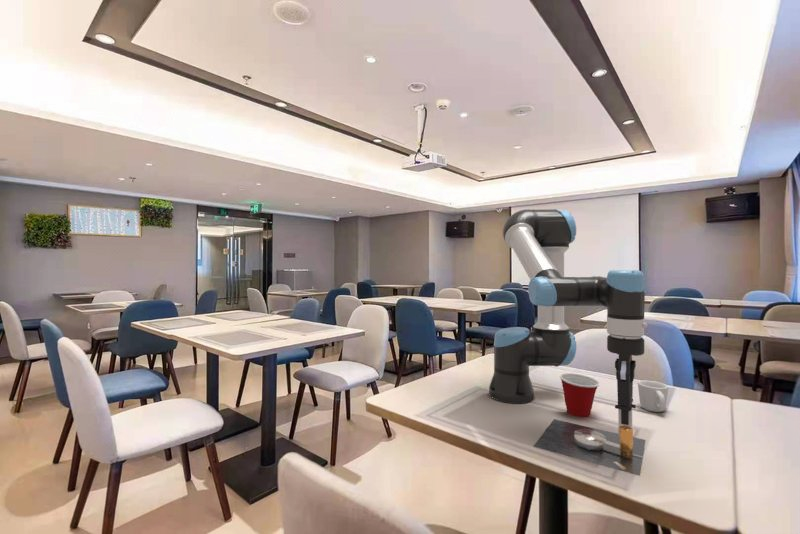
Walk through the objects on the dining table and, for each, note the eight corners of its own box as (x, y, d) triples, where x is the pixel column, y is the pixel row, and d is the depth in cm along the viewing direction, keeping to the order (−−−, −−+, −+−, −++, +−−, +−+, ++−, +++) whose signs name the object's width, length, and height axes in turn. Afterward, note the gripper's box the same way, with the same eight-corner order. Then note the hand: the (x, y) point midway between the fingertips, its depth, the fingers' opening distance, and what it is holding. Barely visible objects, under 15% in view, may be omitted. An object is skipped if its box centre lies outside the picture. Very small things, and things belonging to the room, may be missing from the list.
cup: (677, 418, 113) (677, 391, 113) (647, 416, 115) (648, 390, 114) (660, 405, 124) (660, 381, 123) (633, 403, 125) (633, 379, 125)
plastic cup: (592, 429, 106) (592, 386, 105) (553, 418, 113) (553, 378, 113) (604, 418, 113) (605, 378, 113) (567, 408, 121) (568, 370, 121)
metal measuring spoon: (569, 443, 94) (569, 417, 94) (580, 434, 98) (580, 410, 98) (627, 462, 84) (627, 434, 84) (637, 452, 89) (637, 425, 89)
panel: (533, 452, 93) (533, 445, 93) (553, 424, 109) (554, 418, 109) (639, 482, 80) (640, 474, 80) (645, 445, 96) (645, 439, 96)
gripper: (642, 342, 82) (642, 451, 82) (645, 333, 92) (645, 430, 93) (603, 338, 86) (603, 442, 86) (610, 330, 97) (610, 422, 97)
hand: (625, 436), depth 89 cm, fingers closed
